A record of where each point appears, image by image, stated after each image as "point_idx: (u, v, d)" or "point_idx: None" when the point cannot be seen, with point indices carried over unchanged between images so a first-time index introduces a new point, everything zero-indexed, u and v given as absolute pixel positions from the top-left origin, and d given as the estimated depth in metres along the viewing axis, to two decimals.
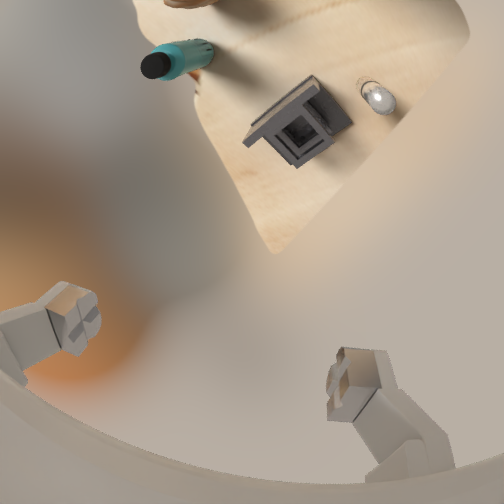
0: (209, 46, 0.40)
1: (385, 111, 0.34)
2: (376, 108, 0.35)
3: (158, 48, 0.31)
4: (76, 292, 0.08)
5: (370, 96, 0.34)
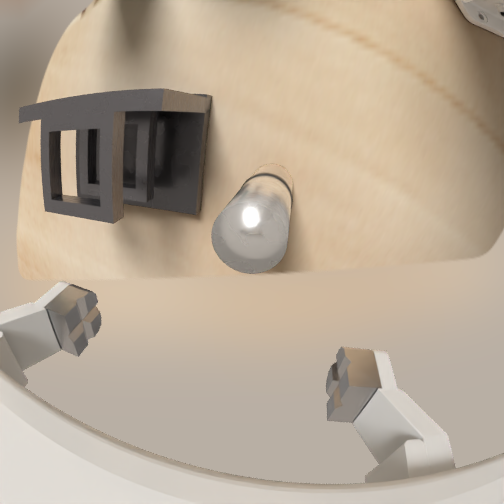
0: None
1: (235, 260, 0.15)
2: (221, 239, 0.15)
3: None
4: (76, 292, 0.08)
5: (234, 202, 0.15)
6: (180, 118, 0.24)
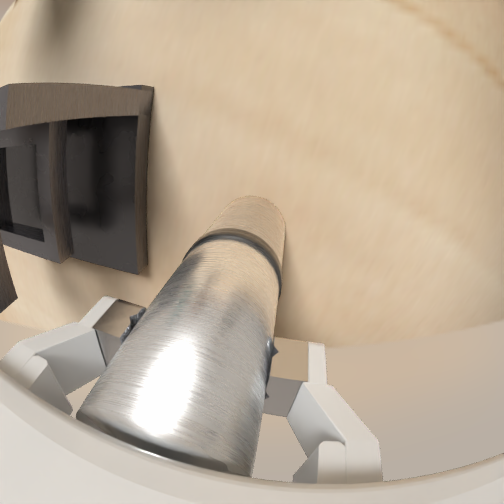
0: None
1: None
2: None
3: None
4: (127, 309, 0.08)
5: (106, 386, 0.04)
6: (104, 127, 0.14)
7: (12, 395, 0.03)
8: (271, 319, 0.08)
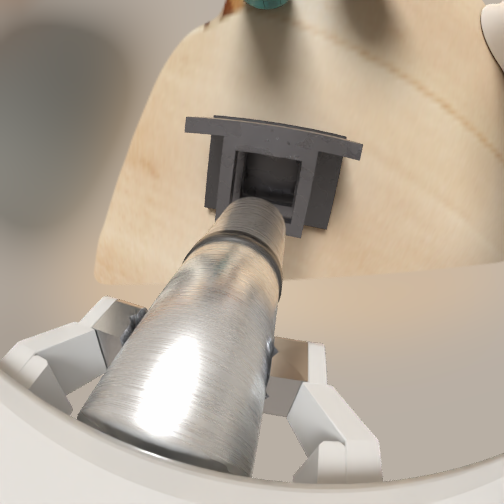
0: None
1: None
2: None
3: None
4: (127, 309, 0.08)
5: (107, 388, 0.04)
6: (323, 152, 0.31)
7: (12, 395, 0.03)
8: (271, 321, 0.08)
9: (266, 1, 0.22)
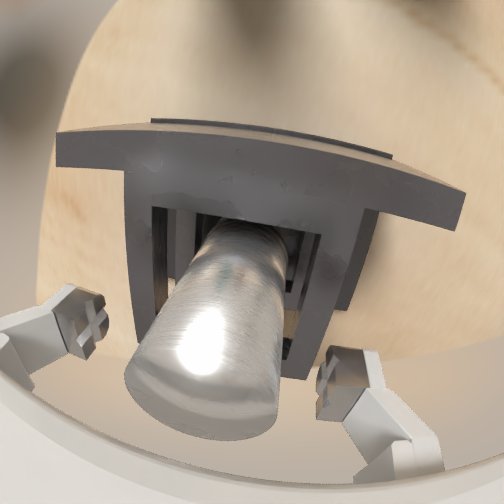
0: None
1: (179, 423, 0.07)
2: (146, 396, 0.06)
3: None
4: (84, 295, 0.08)
5: (159, 335, 0.06)
6: None
7: (12, 395, 0.03)
8: (283, 289, 0.10)
9: None
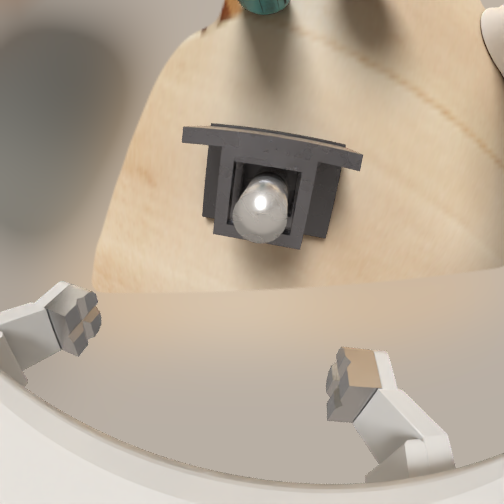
0: None
1: (249, 233, 0.21)
2: (239, 218, 0.21)
3: None
4: (76, 292, 0.08)
5: (248, 191, 0.21)
6: None
7: (12, 395, 0.03)
8: (286, 195, 0.25)
9: (264, 6, 0.22)
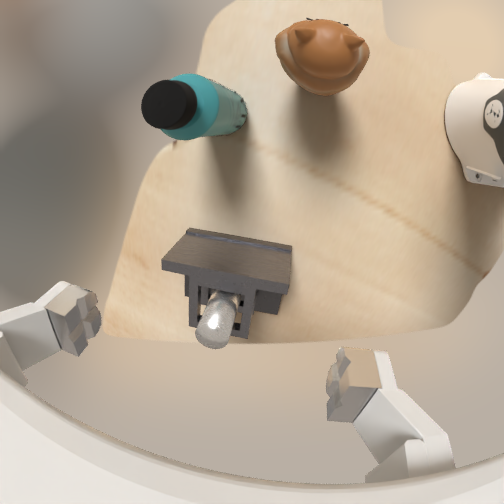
0: (242, 121, 0.33)
1: (207, 343, 0.33)
2: (200, 335, 0.32)
3: (199, 81, 0.20)
4: (76, 292, 0.08)
5: (204, 321, 0.32)
6: None
7: (12, 395, 0.03)
8: (235, 309, 0.36)
9: None
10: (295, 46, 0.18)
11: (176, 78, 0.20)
